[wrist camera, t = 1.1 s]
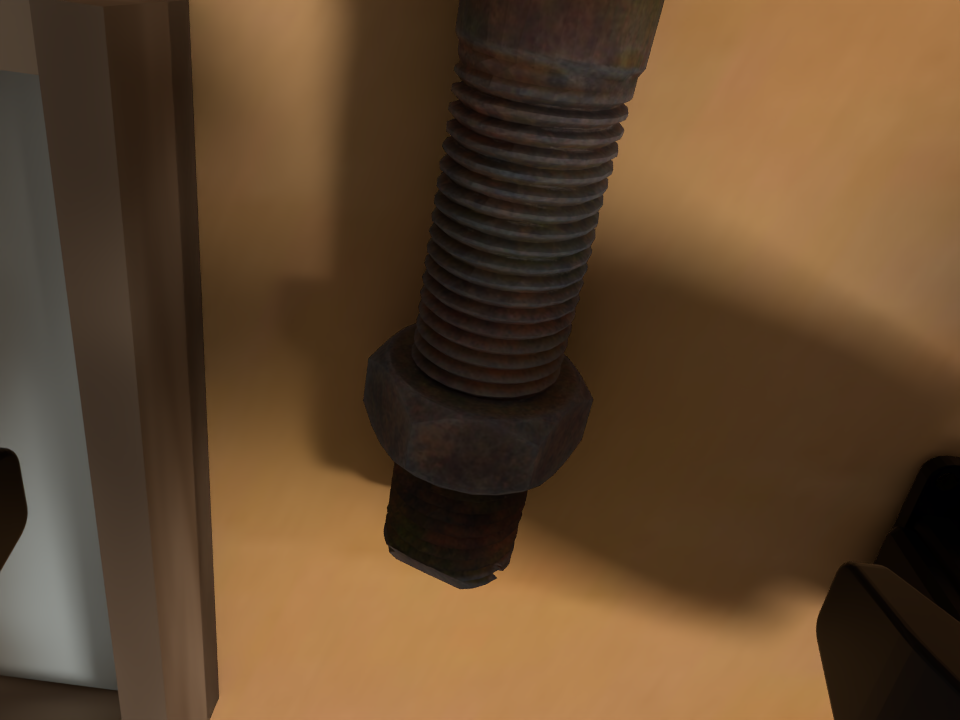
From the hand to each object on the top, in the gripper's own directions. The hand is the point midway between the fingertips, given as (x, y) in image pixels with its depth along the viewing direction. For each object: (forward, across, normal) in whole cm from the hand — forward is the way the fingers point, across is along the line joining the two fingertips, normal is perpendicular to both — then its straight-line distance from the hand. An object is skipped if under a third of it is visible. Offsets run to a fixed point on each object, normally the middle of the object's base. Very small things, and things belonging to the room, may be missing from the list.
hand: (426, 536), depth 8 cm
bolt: (+11, 0, 0) cm, 11 cm away
